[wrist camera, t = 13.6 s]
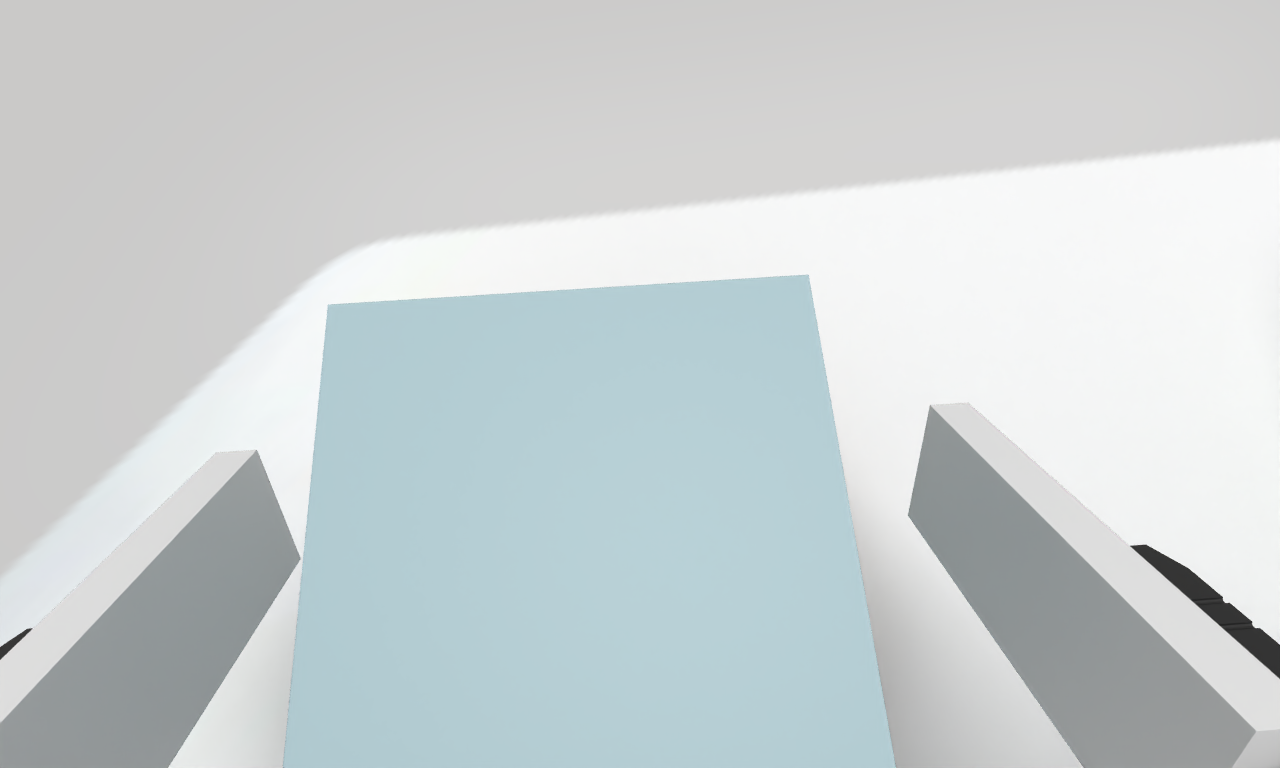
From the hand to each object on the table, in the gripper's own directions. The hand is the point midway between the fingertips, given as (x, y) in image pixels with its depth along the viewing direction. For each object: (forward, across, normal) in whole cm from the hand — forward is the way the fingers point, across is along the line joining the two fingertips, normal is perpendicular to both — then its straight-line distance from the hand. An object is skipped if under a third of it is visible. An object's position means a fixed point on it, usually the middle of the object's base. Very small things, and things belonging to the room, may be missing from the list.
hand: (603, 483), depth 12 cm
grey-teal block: (+4, 0, -6) cm, 7 cm away
